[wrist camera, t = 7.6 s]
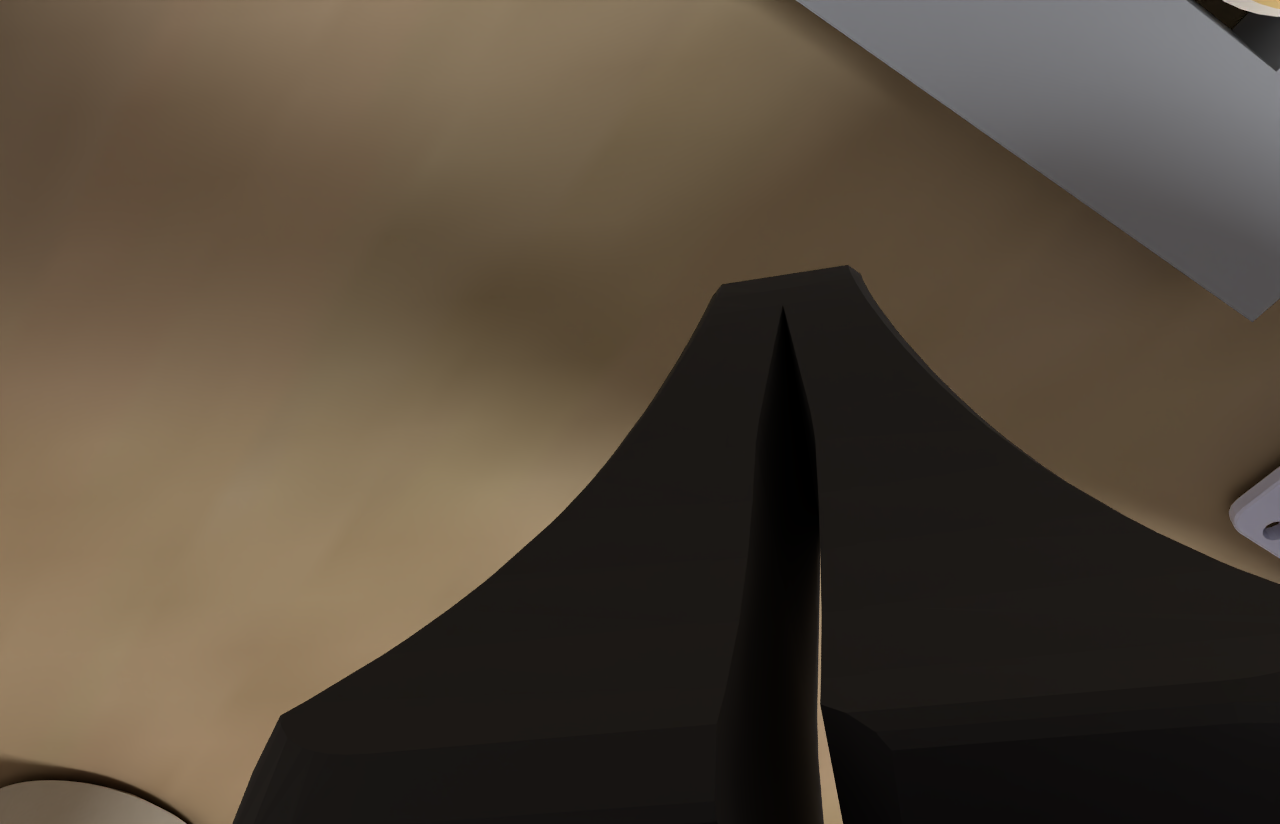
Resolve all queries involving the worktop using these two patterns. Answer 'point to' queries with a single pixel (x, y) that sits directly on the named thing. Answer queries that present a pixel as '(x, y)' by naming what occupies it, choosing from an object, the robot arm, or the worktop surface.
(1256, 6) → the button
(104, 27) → the worktop surface
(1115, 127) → the button board
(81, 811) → the travel mug
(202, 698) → the worktop surface
